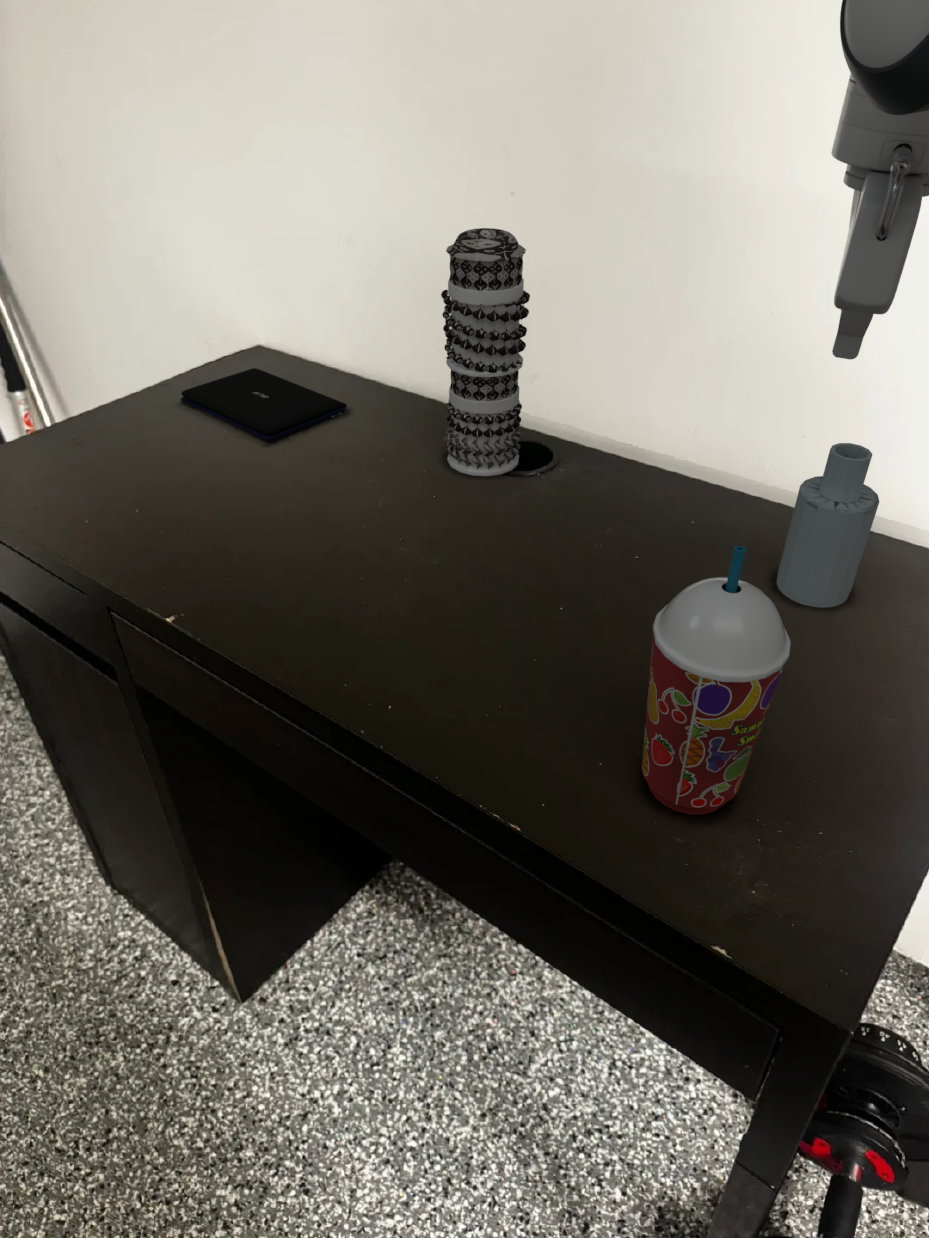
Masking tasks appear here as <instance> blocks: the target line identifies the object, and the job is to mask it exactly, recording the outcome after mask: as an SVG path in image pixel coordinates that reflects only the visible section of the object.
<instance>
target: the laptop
mask: <svg viewBox="0 0 929 1238" xmlns="http://www.w3.org/2000/svg"><path fill="white" fill-rule="evenodd" d="M181 396H182V397H181V398H180V401H181V402H182V403H184V404H186V405H188V406H190V407H192V408H194V409H197V410H199V411H201V412H203V413H205V414H208V415H210V416H212V417H214V418H216V419H219V420H221V421H222V422H225V423H227V424H229V425H232V426H233V427H235V428H238V429H240V430H242V431H244V432H247V433H248V434H251V435H253V436H255V437H257V438H260V439H262V440H264V441H267V442H269V443H270V442H271V443H273V442H277V441H279V440H281V439H284V438H287V437H288V436H292V435H294V434H296V433H299V432H301V431H303V430H306V429H308V428H310V427H314V426H316V425H319V424H320V423H323V422H325V421H328V420H331V419H333V418H335V417H337V416H339V415H340V416H341V415H343V414H344V413H345V410H346V408H347V403H345V402H342V401H340V400H337V399H335V398H332V397H330V396H328V395H325V394H323V393H320V392H317V391H315V390H312V389H311V388H307V387H304V386H303V385H300V384H298V383H295V382H292V381H290V380H287V379H285V378H282V377H280V376H277V375H275V374H272V373H269V372H268V371H265V370H262V369H259V368H257V367H255V368H253V367H252V368H249V369H246V370H244V371H240V372H237V373H235V374H234V373H233V374H231V375H228V376H224V377H221V378H218V379H215V380H212V381H209V382H205V383H203V384H200V385H199V384H198V385H197V386H194V387H190V388H187V389H184V390H183V391H181Z"/></svg>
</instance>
